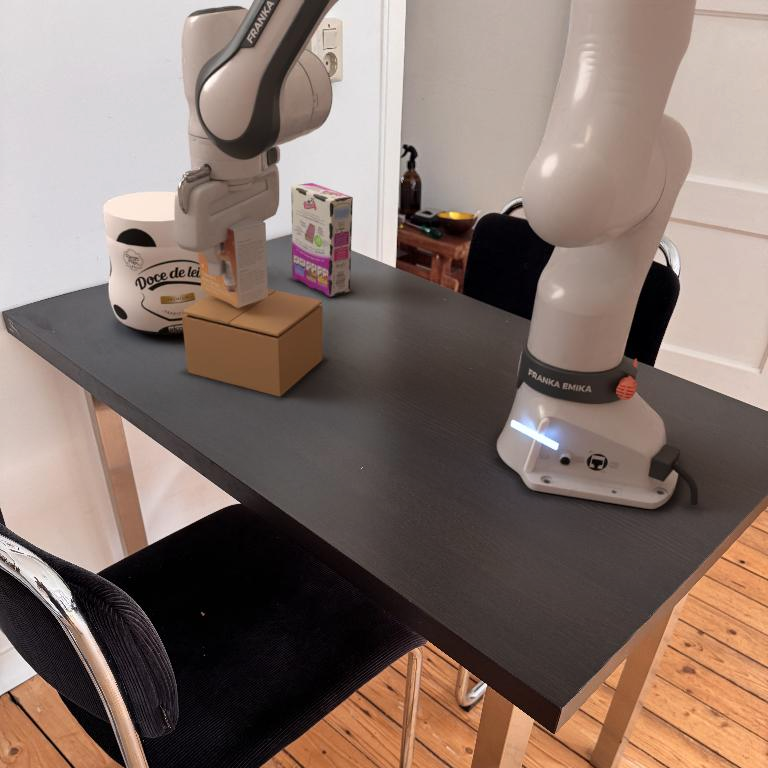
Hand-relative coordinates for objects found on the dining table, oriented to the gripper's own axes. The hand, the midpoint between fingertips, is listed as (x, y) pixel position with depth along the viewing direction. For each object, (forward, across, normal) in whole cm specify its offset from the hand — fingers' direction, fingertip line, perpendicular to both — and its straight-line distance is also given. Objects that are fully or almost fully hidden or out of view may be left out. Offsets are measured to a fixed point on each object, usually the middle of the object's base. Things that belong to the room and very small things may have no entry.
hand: (233, 265), depth 107 cm
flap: (+6, 0, -7) cm, 9 cm away
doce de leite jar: (+15, +7, +17) cm, 24 cm away
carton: (+14, 0, -3) cm, 15 cm away
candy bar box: (+15, +33, +3) cm, 36 cm away
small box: (+4, 0, 0) cm, 4 cm away
